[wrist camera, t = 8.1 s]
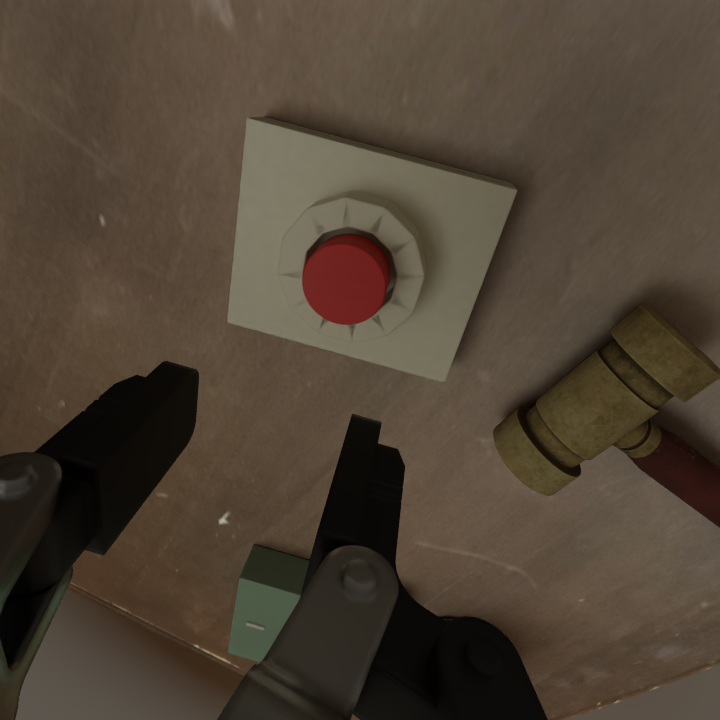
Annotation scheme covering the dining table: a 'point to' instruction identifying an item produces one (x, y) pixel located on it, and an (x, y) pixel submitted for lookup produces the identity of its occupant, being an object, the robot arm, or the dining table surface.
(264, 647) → the panel
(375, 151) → the button block
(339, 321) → the button
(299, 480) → the dining table surface
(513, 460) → the gavel
